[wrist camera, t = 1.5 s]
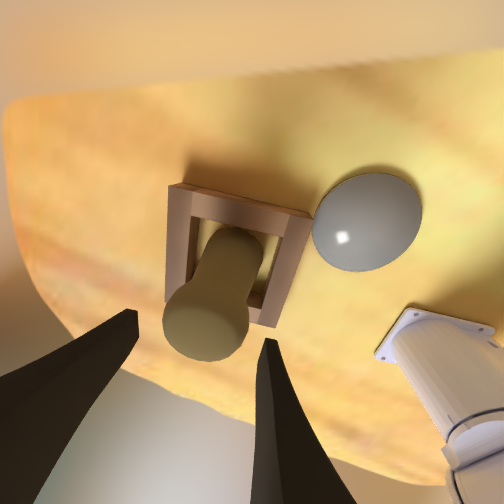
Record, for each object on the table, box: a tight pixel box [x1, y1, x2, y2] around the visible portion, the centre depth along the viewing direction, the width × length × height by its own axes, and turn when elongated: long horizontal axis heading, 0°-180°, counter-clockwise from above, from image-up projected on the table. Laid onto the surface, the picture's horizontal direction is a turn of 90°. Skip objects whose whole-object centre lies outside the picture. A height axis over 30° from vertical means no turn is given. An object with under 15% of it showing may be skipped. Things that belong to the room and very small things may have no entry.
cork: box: [162, 228, 263, 362], centre depth 16 cm, size 6×6×11 cm
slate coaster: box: [312, 173, 422, 272], centre depth 18 cm, size 9×9×1 cm
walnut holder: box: [165, 183, 314, 328], centre depth 20 cm, size 12×12×2 cm
